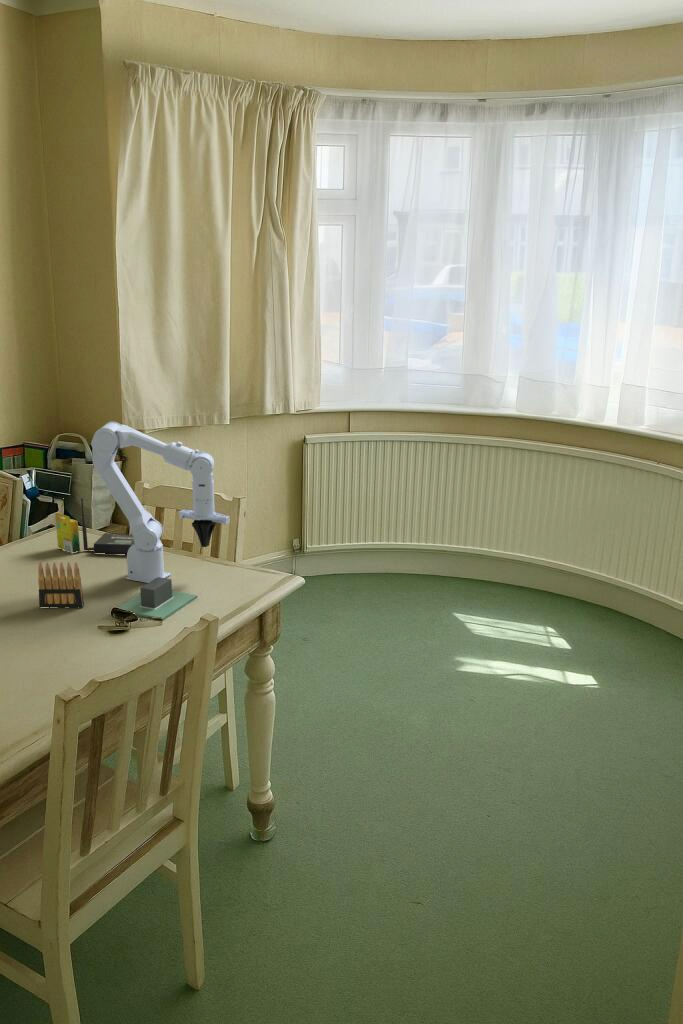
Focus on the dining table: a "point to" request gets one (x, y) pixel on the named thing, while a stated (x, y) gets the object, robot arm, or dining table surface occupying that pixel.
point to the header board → (162, 610)
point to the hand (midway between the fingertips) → (205, 545)
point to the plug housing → (156, 592)
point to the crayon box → (67, 533)
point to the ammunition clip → (60, 587)
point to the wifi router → (108, 540)
